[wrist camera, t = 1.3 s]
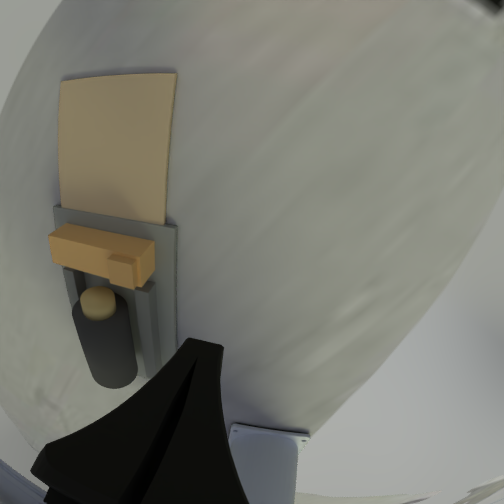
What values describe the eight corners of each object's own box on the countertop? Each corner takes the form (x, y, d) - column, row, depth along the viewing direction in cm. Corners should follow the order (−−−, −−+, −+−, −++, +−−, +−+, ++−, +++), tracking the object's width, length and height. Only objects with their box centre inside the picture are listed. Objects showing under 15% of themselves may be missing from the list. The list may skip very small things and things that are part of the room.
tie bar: (155, 269, 18) (137, 293, 16) (69, 248, 18) (47, 266, 16) (154, 241, 17) (134, 262, 15) (66, 223, 17) (42, 239, 15)
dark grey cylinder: (145, 359, 22) (126, 395, 19) (104, 345, 22) (83, 378, 19) (136, 287, 19) (108, 325, 15) (89, 274, 19) (57, 306, 15)
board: (178, 383, 24) (173, 397, 22) (88, 353, 24) (80, 364, 23) (190, 74, 13) (179, 71, 11) (55, 82, 13) (39, 83, 12)
